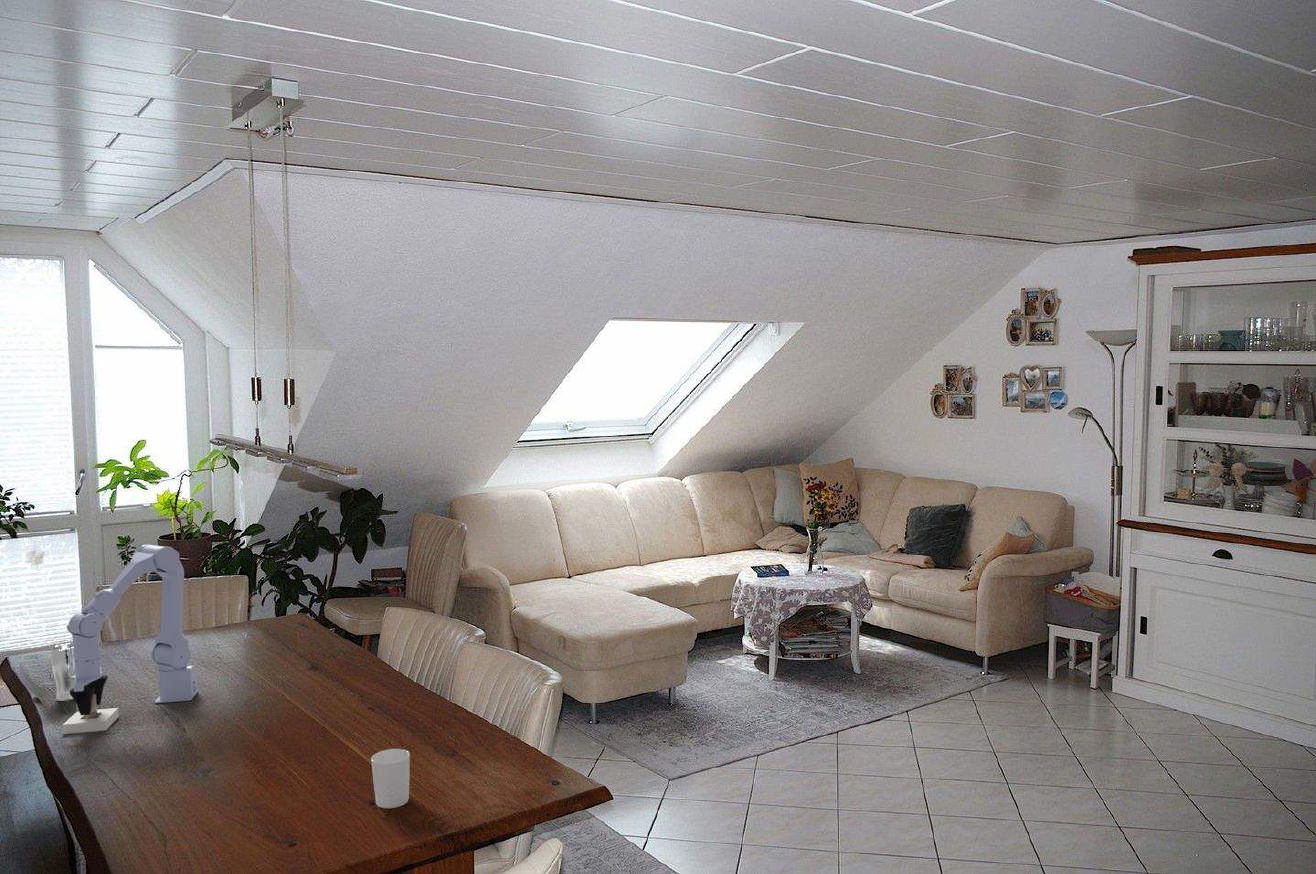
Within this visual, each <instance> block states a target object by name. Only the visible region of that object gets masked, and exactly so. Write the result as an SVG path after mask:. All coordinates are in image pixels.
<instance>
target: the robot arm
mask: <svg viewBox="0 0 1316 874" xmlns="http://www.w3.org/2000/svg"><path fill="white" fill-rule="evenodd" d="M150 573H156V574H157V575H158V576H160V578H162V583H161V605H160V606H161V611H160V615H161V616H160V633H159V635H158V636H156V638H155V639H154V644H153V645H154V646H153V648H152V650H151V654H150V655H151V660H152V661H153V662H154V663H155V664H156V668H157V676H158V677H157V678H158V680H157V681H158V691H159V692H158V693H159V696H158V698H157V699H155V701H154V703H155V704H162V703H164V704H166V703H174V702H175V703H176V702H187V701H189V702H190V701H192V700H193V699H194V697H196V695H197V693H199V690H198V681H197V668H196V666H195V665H188V664H189V662H190V660H191V657H192V651H191V650H190V647H189V640H188V638H187V637H186V636H185V634H184V633H183V619H184V618H183V616H184V593H185V591H184V588H185V587H184V586H185V584H184V582H185V569H184V567H183V564H182V562H181V560H180V552H179V551H177V550H176V549H174V548H173V547H172V546H168V545H167V546H161V545H155V544H151V543H148V544H144V545H142V546H140V548H139V549H138V550H137V551H136V552H135V553H134V554H133V555H132V557H131V561H130V562H128V564H127V565H126V567H125V568H124V569H123V570H122V572H121V573H120V574H119V576H118V577H117V578H116V579H115V580H114V582H113V583H112V584H111V585H110V586H109V587H108V588H105V589H101V590H100V591H96V592H95V594H93V596H94V597H93V598H92V600H91V601H89V603H88V604H87V605H86V606H85V607H83V608H81V610H80V612H78V613H75V614H74V615H72V617H70V619H69V621H68V625H66V629H67V631H68V633H70V634H71V637H72V643H73V647H74V661H75V675H74V676H72V677H71V680H75V684H74V688H72V689H71V690H70V695H71V696H72V697H73V699H74V700H73V701H74V702H75V705H76V704H77V707H78V709H79V712H80V715H89V714H90V712H91V703H92V697H93V694H96V704H97V706H100V705H101V703H102V697H103V693H104V689H105V688H104V687H105V685H106V682H107V679H108V675H103V666H101V658H100V645H99V644H100V641H99V633H100V632H102V630H103V626H104V622H105V620H106V619H107V618H108V617H109V615H110V614H111V613H112V612H113V611H114V610H115V609H116V607H118V605H120V603H121V595H123V594H124V593H125V592H126V591H127V589H129V587H131V586H132V585H133V584H134V583H135V582H136V581H137V580H138V579H139V578H140V577H141V576H142V575H146V574H150Z"/></svg>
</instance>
